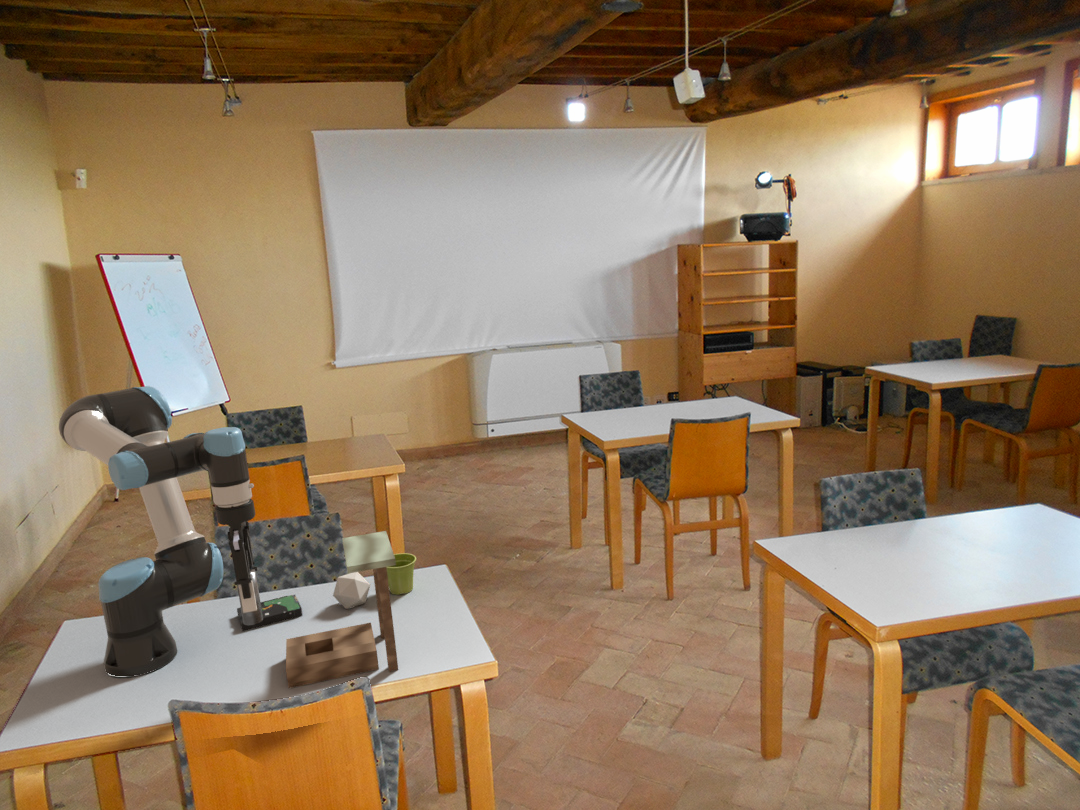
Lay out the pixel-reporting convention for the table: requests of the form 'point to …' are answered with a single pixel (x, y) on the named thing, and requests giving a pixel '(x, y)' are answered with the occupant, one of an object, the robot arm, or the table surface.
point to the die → (351, 590)
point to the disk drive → (275, 611)
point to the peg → (256, 616)
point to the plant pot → (401, 574)
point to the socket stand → (353, 644)
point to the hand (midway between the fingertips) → (251, 606)
